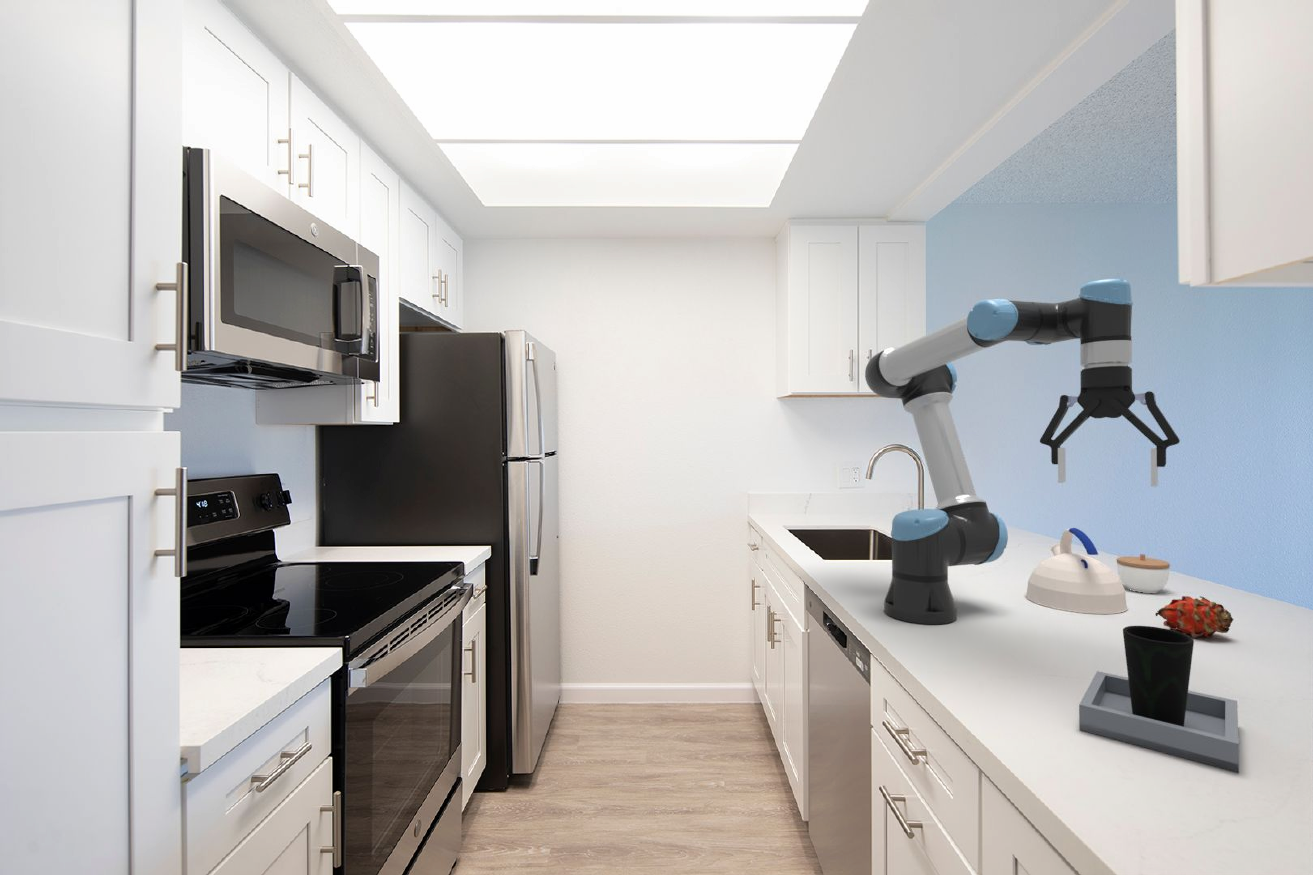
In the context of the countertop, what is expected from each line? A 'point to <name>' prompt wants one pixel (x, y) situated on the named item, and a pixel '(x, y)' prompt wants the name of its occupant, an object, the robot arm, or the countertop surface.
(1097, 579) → the kettle
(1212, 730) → the box
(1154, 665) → the cup
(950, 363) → the robot arm
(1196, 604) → the dragon fruit
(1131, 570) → the lidded jar
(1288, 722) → the countertop surface
